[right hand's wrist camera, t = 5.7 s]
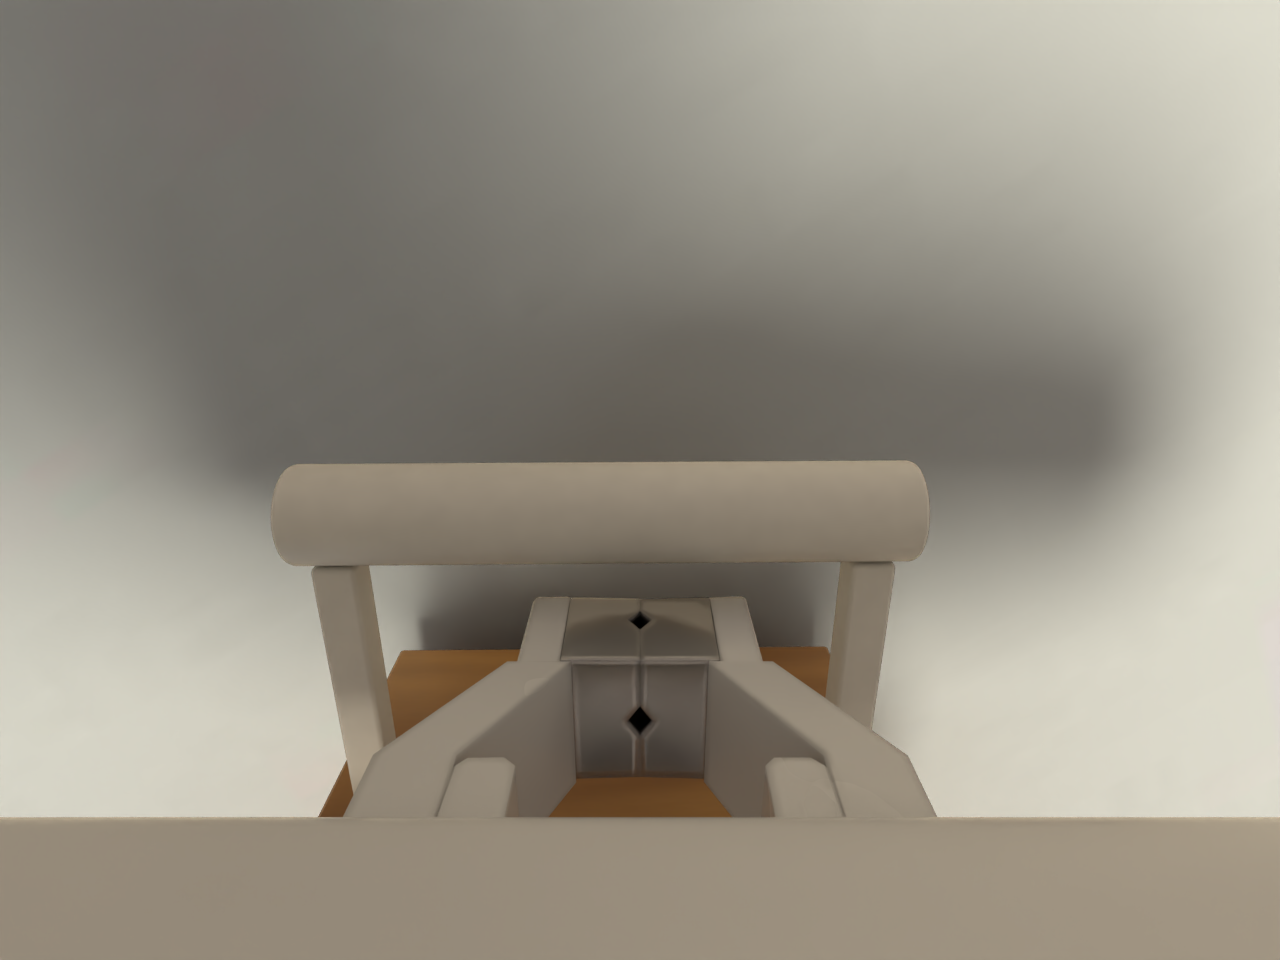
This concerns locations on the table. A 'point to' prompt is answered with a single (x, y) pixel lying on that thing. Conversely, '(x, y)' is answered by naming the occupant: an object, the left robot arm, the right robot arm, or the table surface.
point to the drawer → (588, 534)
